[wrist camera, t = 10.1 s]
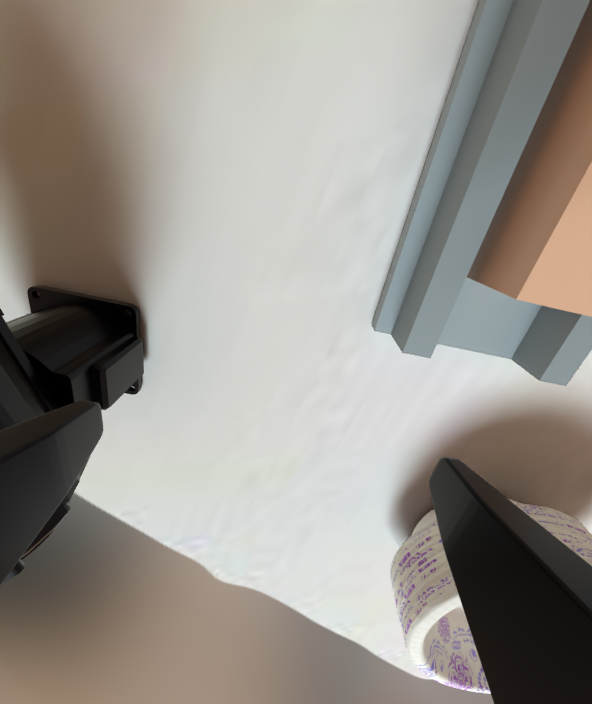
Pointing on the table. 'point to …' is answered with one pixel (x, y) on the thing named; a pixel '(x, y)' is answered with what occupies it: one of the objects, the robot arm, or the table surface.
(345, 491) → the table surface
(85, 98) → the table surface
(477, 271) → the clay strip
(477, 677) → the white purple speckled bowl
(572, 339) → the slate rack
